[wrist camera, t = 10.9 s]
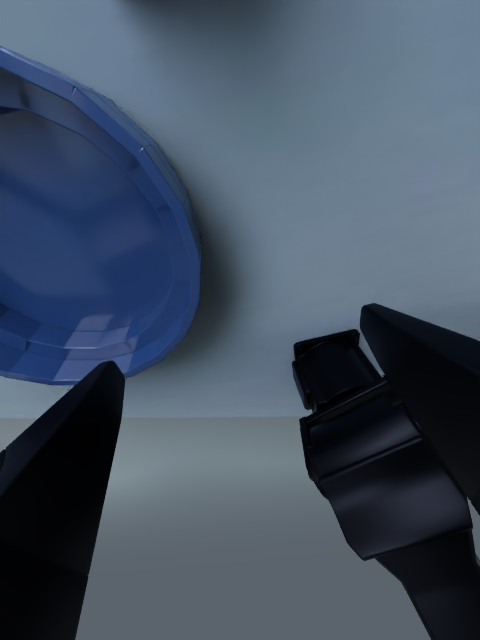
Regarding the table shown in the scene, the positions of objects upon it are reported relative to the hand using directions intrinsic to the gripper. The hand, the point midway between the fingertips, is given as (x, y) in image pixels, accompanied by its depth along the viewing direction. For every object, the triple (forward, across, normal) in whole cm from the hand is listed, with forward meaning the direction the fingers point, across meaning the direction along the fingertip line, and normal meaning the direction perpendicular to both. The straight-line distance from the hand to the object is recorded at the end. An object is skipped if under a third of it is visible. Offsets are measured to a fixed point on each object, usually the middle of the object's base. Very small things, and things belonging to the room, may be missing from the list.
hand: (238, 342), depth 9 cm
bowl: (+11, +10, -2) cm, 16 cm away
